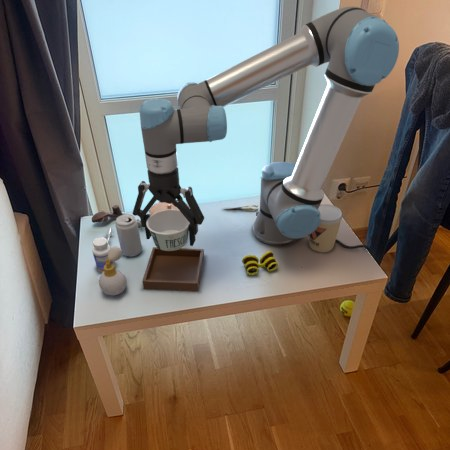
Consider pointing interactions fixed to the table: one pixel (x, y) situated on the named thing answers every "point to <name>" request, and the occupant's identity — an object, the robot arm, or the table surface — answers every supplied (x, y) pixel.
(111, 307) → the table surface
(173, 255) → the tray
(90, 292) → the table surface
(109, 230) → the rivet
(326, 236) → the coffee cup
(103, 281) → the perfume bottle
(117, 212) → the heeled mule
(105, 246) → the pill bottle
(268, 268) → the opera glasses
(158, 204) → the lidded bowl
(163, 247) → the food container
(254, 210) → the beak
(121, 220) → the beverage can
